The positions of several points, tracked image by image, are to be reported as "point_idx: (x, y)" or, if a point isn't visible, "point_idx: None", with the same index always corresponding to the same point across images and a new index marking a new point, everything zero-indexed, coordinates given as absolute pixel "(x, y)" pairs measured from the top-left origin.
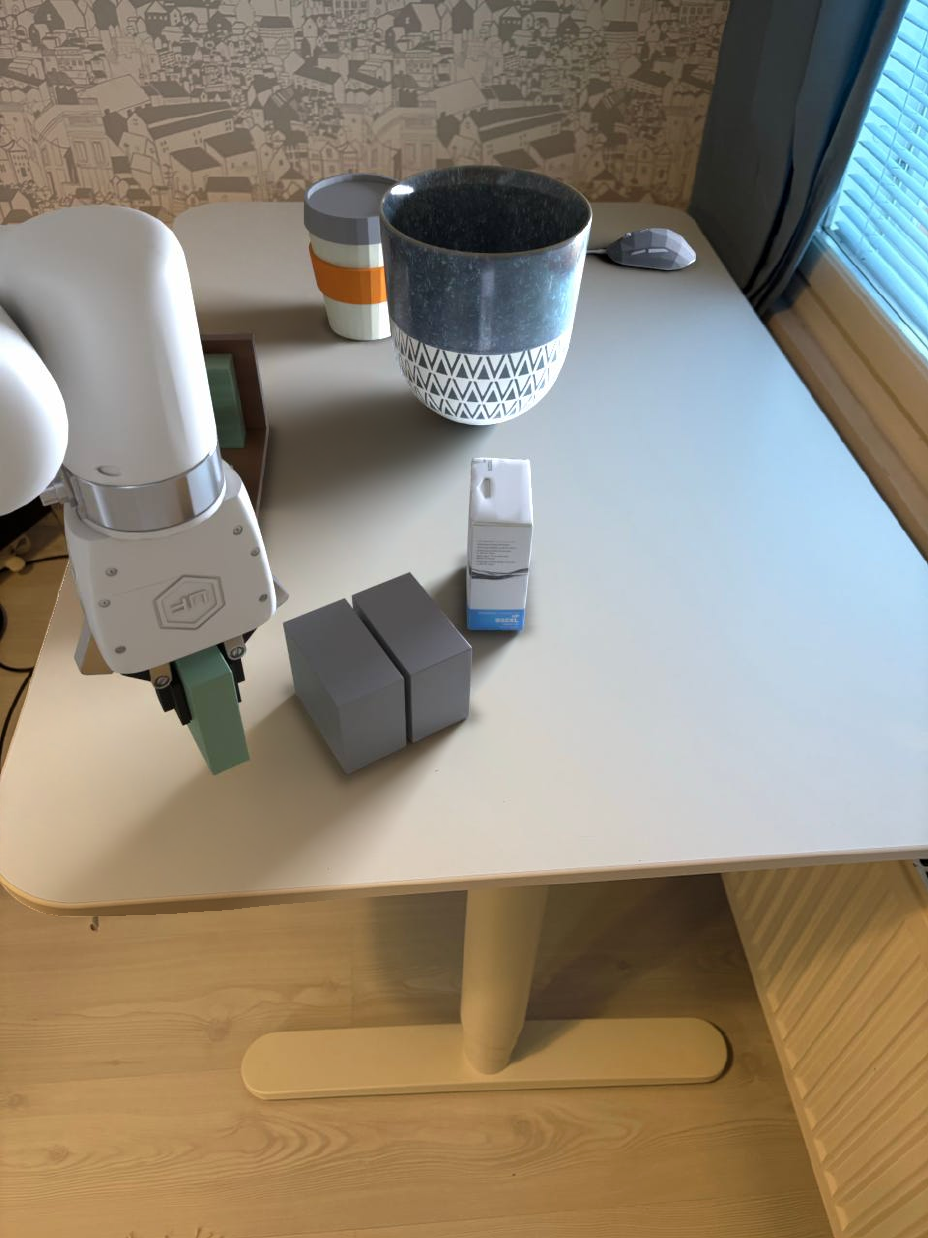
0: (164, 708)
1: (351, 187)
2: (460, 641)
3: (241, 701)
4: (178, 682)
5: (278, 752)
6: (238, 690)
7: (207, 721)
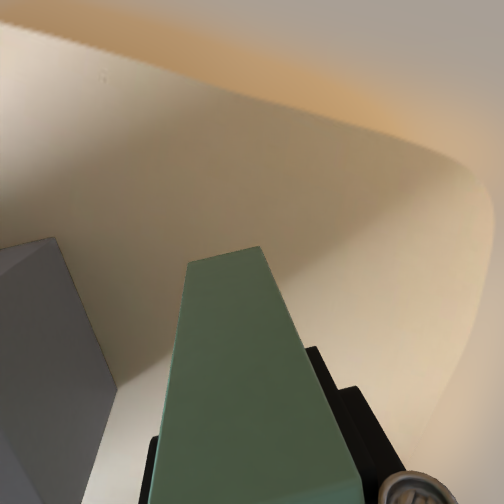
0: (362, 396)
1: None
2: None
3: None
4: None
5: (154, 301)
6: None
7: (270, 332)
